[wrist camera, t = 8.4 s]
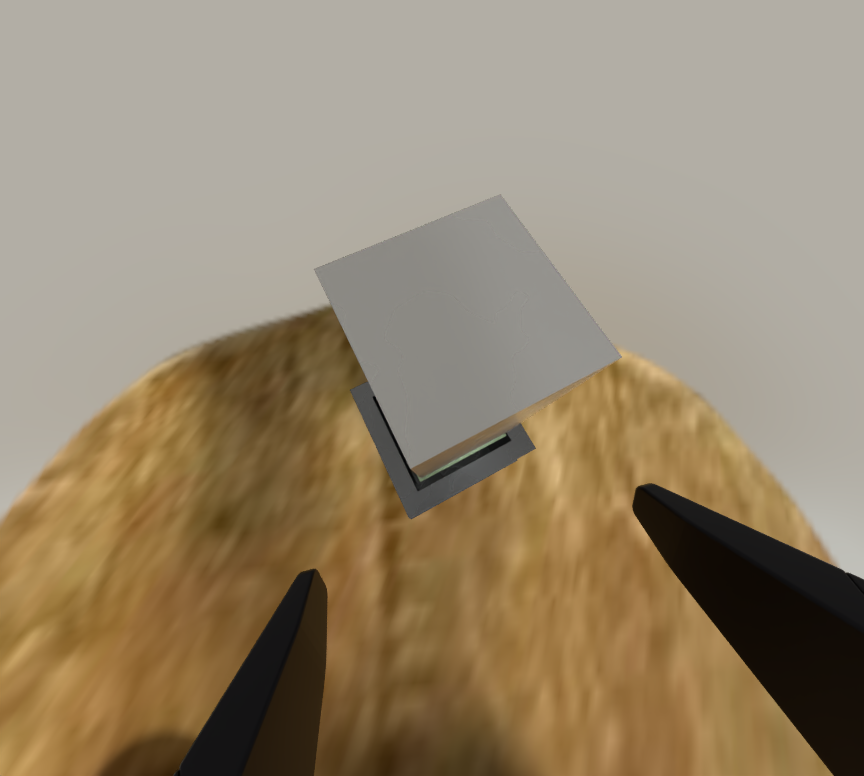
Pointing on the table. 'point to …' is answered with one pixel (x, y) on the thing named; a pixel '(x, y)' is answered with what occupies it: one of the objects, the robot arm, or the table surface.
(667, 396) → the table surface
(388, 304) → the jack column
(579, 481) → the table surface
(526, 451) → the dark grey box
